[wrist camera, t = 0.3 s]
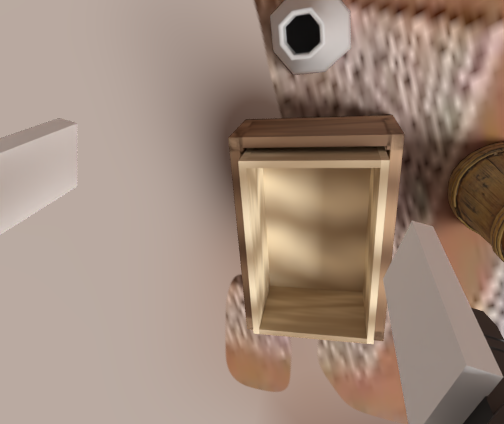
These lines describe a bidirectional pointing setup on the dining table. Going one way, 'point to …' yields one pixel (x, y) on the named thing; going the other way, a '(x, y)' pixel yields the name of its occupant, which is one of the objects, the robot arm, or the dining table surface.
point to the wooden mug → (481, 194)
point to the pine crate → (314, 239)
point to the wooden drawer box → (323, 135)
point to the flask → (310, 34)
